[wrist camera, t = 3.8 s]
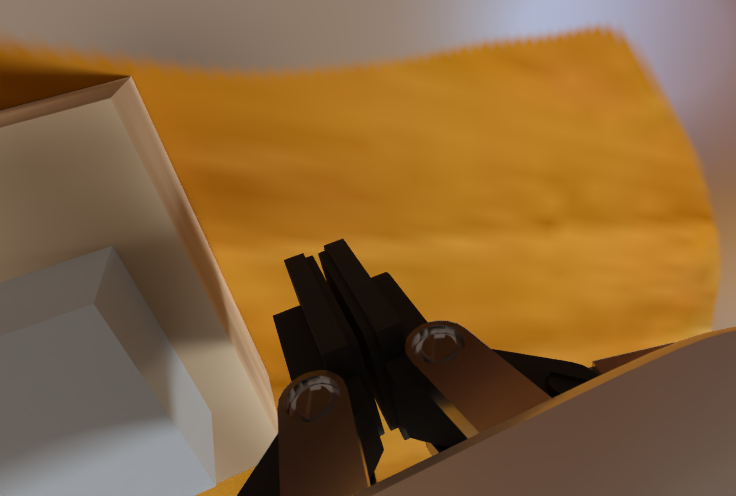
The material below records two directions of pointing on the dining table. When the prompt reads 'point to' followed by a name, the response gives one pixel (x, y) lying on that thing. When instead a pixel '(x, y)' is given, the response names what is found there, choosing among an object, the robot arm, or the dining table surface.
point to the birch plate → (133, 243)
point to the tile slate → (95, 389)
